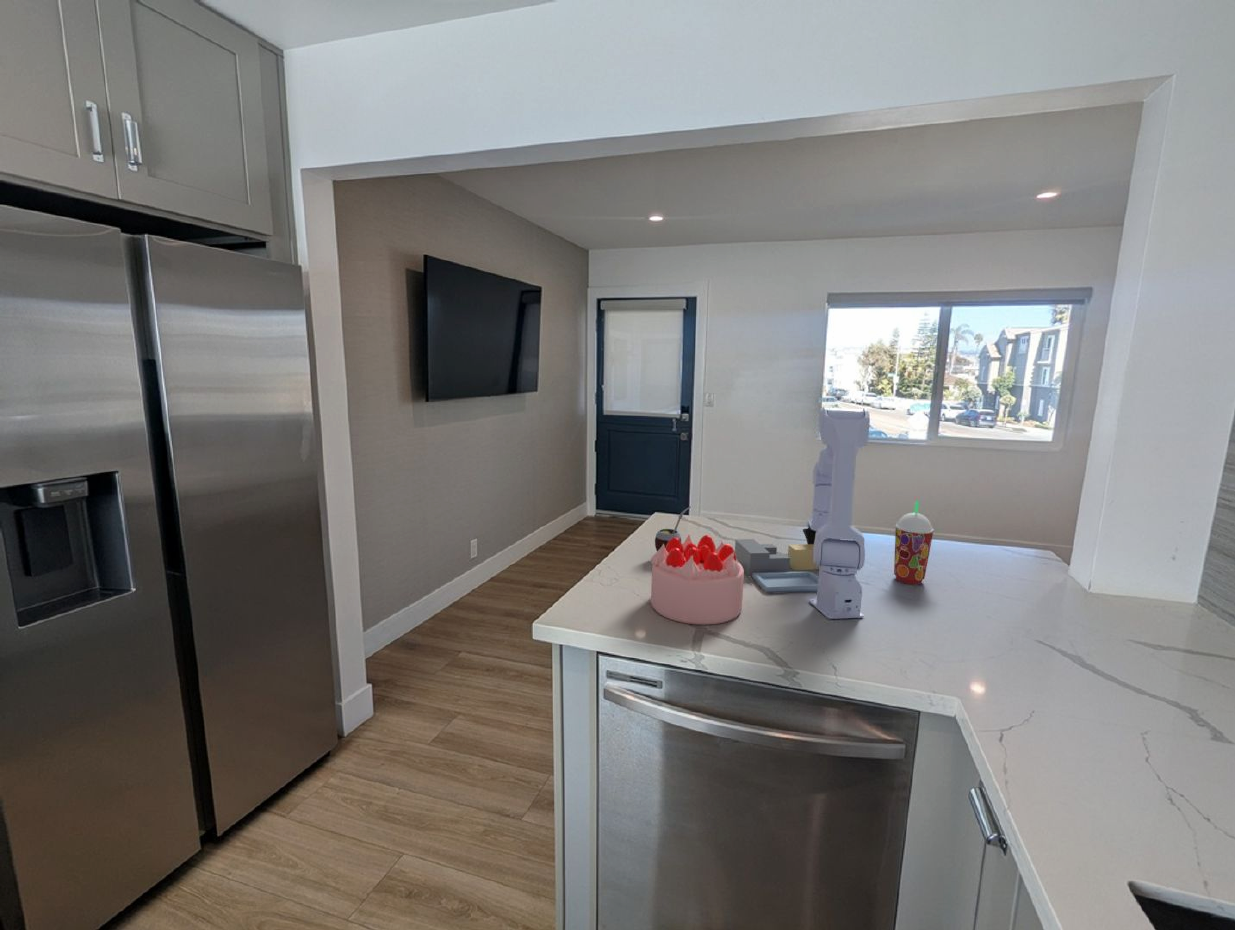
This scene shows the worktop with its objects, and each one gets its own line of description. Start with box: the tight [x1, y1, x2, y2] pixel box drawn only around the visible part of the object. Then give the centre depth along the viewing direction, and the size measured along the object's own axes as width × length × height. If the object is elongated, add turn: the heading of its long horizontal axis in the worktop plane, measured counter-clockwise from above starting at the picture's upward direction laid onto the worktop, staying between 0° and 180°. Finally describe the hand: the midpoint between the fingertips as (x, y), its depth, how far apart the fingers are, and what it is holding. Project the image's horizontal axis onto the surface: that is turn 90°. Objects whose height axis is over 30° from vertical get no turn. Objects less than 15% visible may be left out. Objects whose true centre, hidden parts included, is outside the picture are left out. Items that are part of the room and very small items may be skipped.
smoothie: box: [893, 501, 934, 586], centre depth 143 cm, size 8×8×20 cm
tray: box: [752, 570, 819, 594], centre depth 140 cm, size 9×15×2 cm, turn 98°
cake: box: [649, 534, 745, 626], centre depth 126 cm, size 20×20×14 cm
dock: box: [734, 538, 791, 577], centre depth 151 cm, size 11×10×6 cm
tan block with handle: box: [787, 544, 819, 571], centre depth 153 cm, size 4×11×6 cm, turn 98°
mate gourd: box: [654, 506, 692, 552], centre depth 155 cm, size 8×8×15 cm
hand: (820, 560), depth 153 cm, fingers open, 7 cm apart
